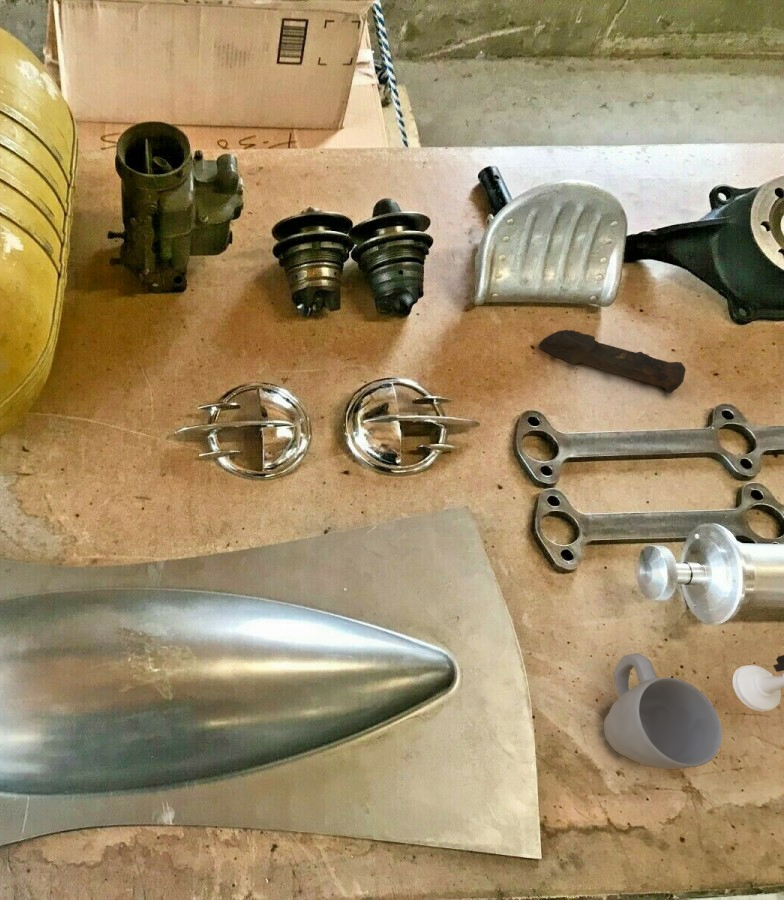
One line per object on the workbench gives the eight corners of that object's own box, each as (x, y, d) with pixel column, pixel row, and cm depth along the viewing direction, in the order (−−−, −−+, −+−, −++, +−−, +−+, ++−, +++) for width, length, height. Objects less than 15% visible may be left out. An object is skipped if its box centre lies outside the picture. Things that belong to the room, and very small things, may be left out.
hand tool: (670, 375, 112) (691, 357, 108) (669, 397, 110) (690, 380, 106) (539, 333, 114) (554, 313, 109) (535, 354, 112) (551, 335, 108)
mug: (679, 767, 87) (739, 759, 79) (606, 781, 86) (659, 773, 78) (634, 659, 93) (686, 640, 84) (565, 671, 92) (611, 652, 83)
